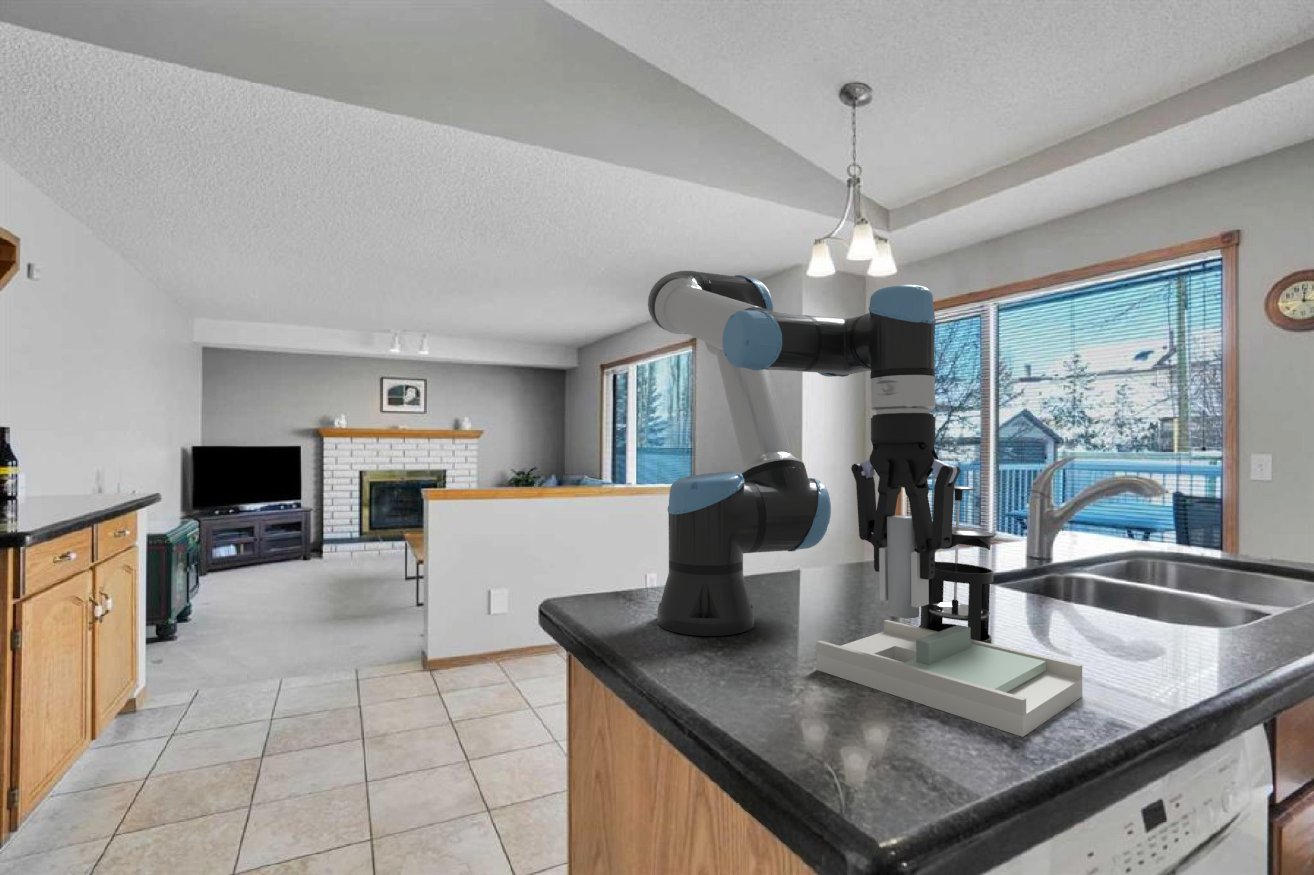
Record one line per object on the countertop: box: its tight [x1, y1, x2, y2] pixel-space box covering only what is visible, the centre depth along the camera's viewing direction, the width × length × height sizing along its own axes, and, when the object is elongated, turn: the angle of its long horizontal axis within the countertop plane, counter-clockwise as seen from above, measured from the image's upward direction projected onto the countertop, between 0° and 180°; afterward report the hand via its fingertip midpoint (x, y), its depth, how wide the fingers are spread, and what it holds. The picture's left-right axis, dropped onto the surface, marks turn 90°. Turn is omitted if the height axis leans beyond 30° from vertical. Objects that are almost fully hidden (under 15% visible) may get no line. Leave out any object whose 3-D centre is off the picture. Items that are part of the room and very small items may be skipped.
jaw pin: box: [887, 515, 920, 619], centre depth 81 cm, size 4×4×12 cm
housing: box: [815, 619, 1083, 738], centre depth 77 cm, size 24×16×4 cm, turn 40°
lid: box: [903, 624, 1046, 692], centre depth 74 cm, size 10×14×4 cm
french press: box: [918, 485, 996, 644], centre depth 89 cm, size 12×9×23 cm
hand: (903, 601), depth 81 cm, fingers closed on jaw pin, 3 cm apart
